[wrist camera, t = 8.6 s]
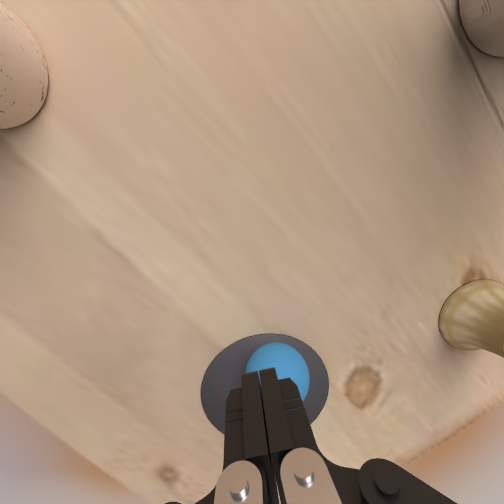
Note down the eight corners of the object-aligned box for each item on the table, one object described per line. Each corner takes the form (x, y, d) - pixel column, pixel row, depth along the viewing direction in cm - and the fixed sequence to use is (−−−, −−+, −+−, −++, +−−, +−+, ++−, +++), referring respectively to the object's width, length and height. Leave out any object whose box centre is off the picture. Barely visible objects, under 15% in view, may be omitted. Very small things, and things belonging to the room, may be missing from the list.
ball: (330, 408, 22) (304, 362, 27) (305, 358, 20) (282, 320, 25) (270, 443, 21) (256, 389, 27) (238, 396, 19) (230, 348, 25)
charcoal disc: (320, 321, 26) (321, 322, 26) (333, 427, 29) (334, 429, 29) (187, 348, 25) (187, 350, 25) (216, 453, 29) (216, 455, 28)
